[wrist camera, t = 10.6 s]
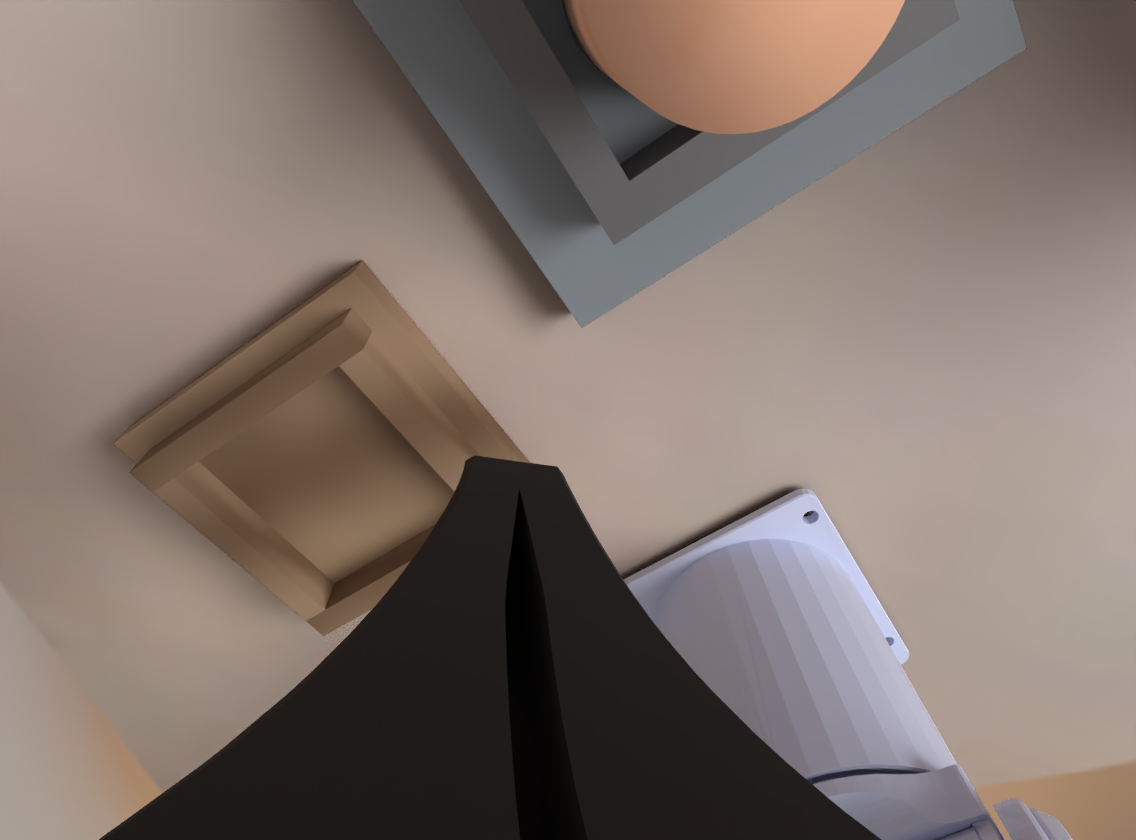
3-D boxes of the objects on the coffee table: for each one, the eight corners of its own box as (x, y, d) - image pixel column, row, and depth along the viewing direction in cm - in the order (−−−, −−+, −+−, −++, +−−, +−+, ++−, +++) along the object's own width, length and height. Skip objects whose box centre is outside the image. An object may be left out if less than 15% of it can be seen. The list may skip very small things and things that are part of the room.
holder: (550, 487, 23) (552, 530, 21) (338, 608, 25) (322, 657, 23) (362, 259, 19) (343, 287, 17) (130, 426, 21) (90, 466, 19)
